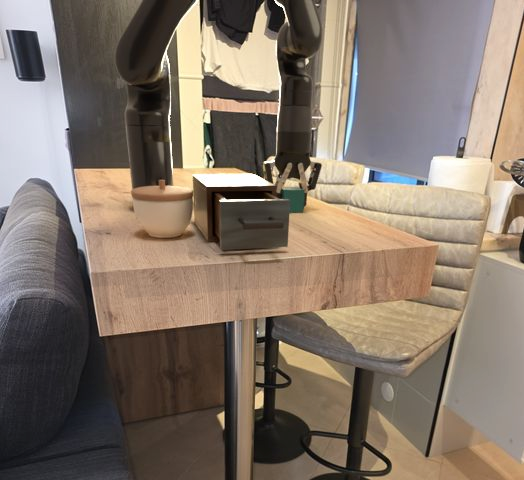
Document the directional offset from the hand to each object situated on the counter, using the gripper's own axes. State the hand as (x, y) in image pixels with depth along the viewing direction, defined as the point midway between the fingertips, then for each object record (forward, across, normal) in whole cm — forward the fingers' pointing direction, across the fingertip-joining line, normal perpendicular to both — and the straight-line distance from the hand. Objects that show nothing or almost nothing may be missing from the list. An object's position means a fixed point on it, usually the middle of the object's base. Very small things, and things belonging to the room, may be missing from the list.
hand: (289, 208), depth 107 cm
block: (0, 0, 0) cm, 0 cm away
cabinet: (0, +18, +18) cm, 25 cm away
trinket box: (+1, +31, +19) cm, 36 cm away
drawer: (-1, +18, +30) cm, 35 cm away
